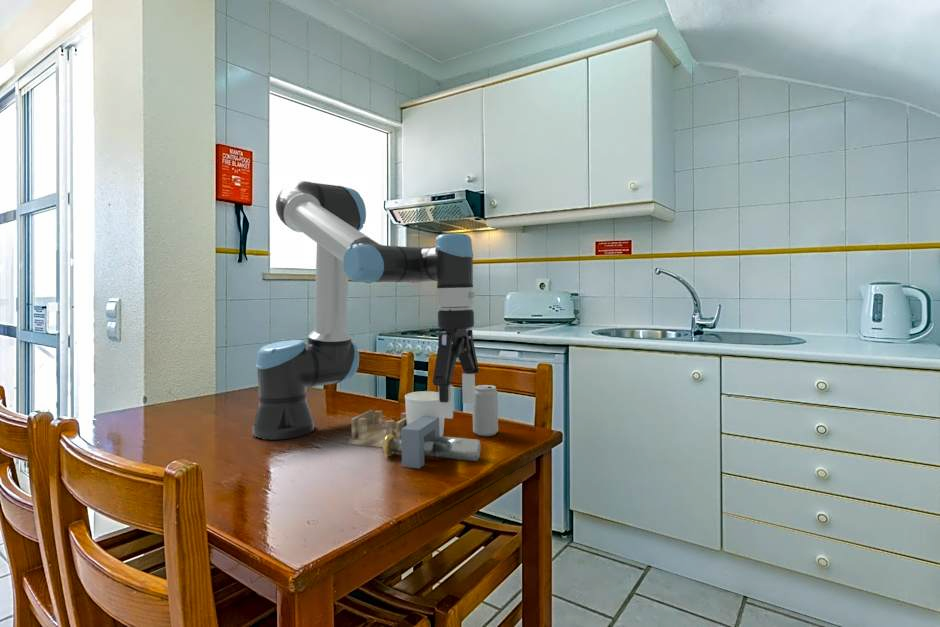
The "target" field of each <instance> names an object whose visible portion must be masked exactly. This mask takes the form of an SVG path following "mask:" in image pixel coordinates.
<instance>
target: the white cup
mask: <svg viewBox="0 0 940 627" xmlns="http://www.w3.org/2000/svg"><path fill="white" fill-rule="evenodd" d="M404 399H405V400H404V402H405V413H406V426H407V425H409V424H410V423H412V422H414V421H415V420H417V419H419V418H420V417H422V416H428V417H439V393H438V391H428V390H424V391H421V390H420V391H413V392H409V393H406V394H405V395H404ZM444 428H445V418H439V436H443V437H444Z"/></svg>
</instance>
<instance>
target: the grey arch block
mask: <svg viewBox="0 0 940 627" xmlns="http://www.w3.org/2000/svg"><path fill="white" fill-rule="evenodd" d="M438 437H439V417H428V416H422V417H420V418H419V419H417V420H415V421H414V422H412V423H410V424H409V425H407V426H405V427H403V428H402V429H401V443H402V453H401V466H402V467H403V468H411V469H419V470H420V469H421V468H422V467H423V466H425V455H424V441H430V442H436V439H437V438H438ZM434 456H435V457H436V455H435V454H434V455H433V457H434Z"/></svg>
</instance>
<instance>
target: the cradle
mask: <svg viewBox="0 0 940 627" xmlns="http://www.w3.org/2000/svg"><path fill="white" fill-rule="evenodd" d="M350 422H351V438H350V439H349V440H348V443H349V444H350V445H359V446H366V447H368V446H369V447H377V448H382V445H383V440H384V438H385V436H386V435H387V434H393V435H395V437H396V438H398V439H401V429H402V428H403V427H405V426H406V411H405V412H401V413H400V420H398V421H396V420H393V419H388V420H387V421H385V429H383V428H384V426H383V410H375V411H374V410H373V409H369V410H367V411H365V412H363V413H361V414H358V415H356V416H354V417H351V420H350Z"/></svg>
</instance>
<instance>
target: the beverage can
mask: <svg viewBox="0 0 940 627" xmlns="http://www.w3.org/2000/svg"><path fill="white" fill-rule="evenodd" d="M498 399H499V398H498V390H497V386H495V385H490V384H479V385H475V403H471V404H472V432H473V433H475V435H477V436H479V437H490V436H491V437H492V436H495V435H496V434H497V433H498V431H499V407H498V405H499V400H498Z"/></svg>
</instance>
